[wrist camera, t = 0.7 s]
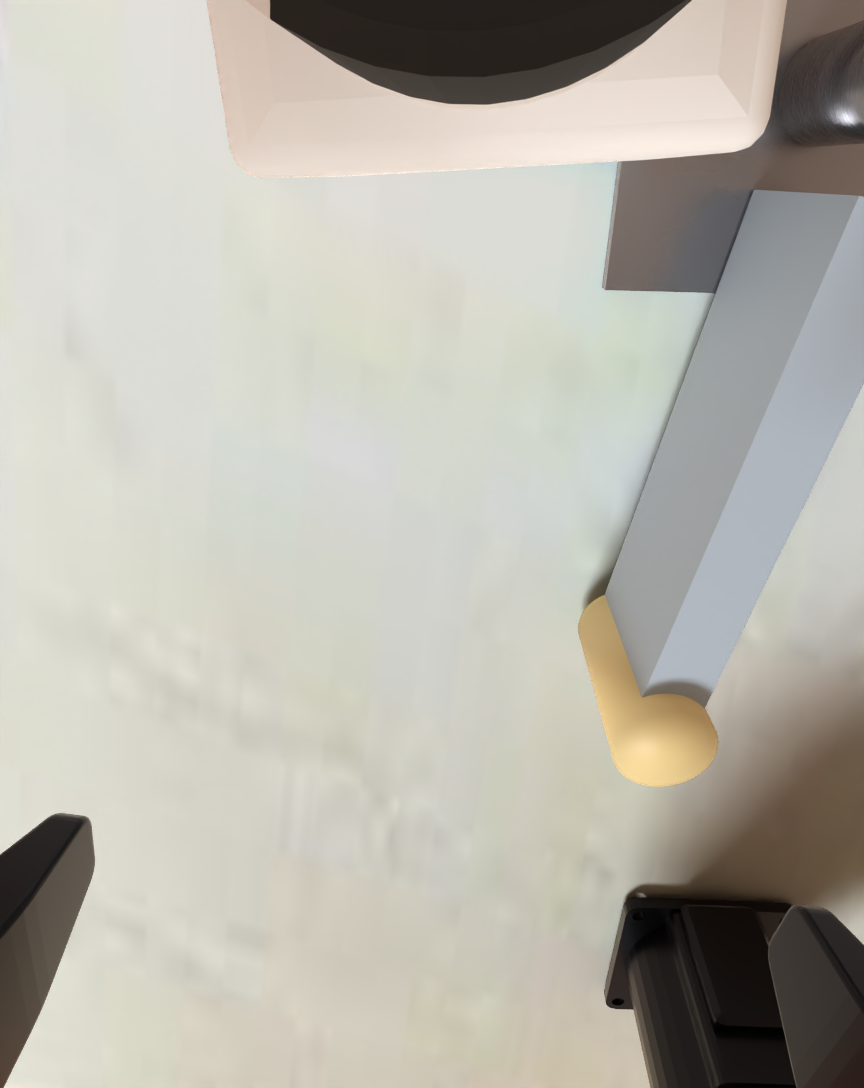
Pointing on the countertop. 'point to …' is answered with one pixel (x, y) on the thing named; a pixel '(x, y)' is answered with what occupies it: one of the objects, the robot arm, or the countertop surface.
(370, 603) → the countertop surface
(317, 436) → the countertop surface
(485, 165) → the medicine bottle
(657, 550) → the gate
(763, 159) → the peg on base plate
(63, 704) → the countertop surface
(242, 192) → the countertop surface
